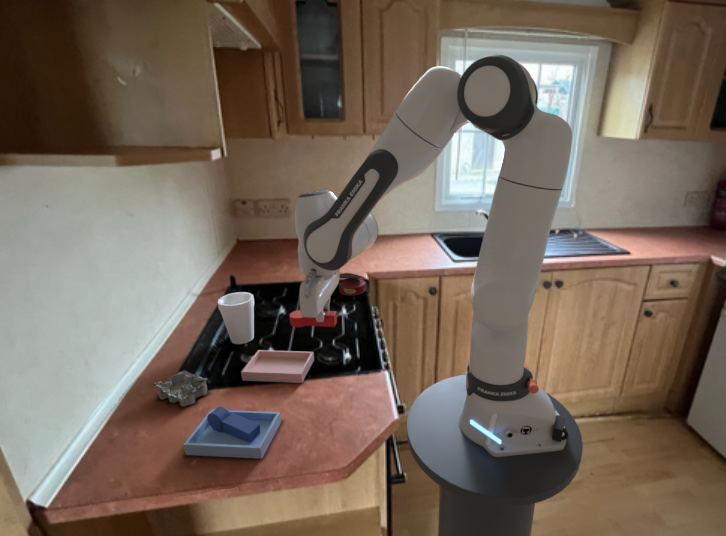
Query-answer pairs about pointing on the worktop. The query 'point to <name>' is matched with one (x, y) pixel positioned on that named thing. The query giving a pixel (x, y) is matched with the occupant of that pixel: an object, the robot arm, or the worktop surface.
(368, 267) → the worktop surface
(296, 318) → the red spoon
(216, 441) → the blue tray
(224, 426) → the dark blue block
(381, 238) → the worktop surface
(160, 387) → the egg carton
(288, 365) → the rose tray
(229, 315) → the foam cup
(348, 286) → the canned food
